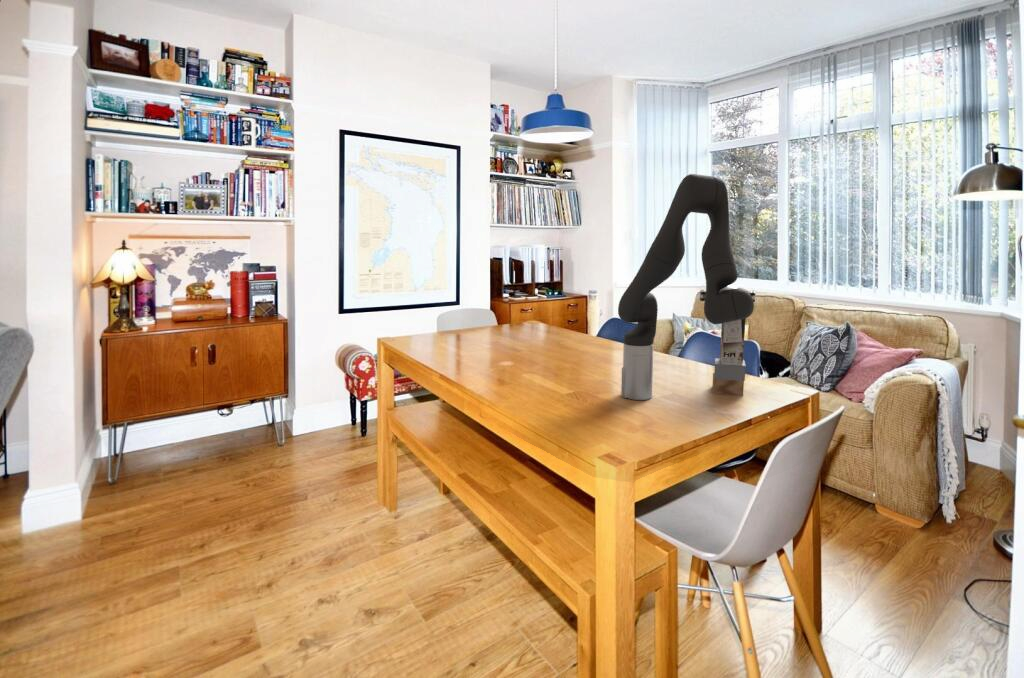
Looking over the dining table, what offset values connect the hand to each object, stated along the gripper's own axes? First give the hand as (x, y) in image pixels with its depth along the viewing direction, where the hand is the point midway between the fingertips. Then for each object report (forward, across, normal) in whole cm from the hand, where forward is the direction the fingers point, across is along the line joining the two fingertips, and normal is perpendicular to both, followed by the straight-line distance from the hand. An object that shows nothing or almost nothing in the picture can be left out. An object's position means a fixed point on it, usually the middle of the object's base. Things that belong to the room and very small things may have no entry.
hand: (726, 293), depth 152 cm
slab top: (+20, -2, +29) cm, 35 cm away
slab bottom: (+20, -2, +34) cm, 39 cm away
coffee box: (+19, -3, +24) cm, 31 cm away
